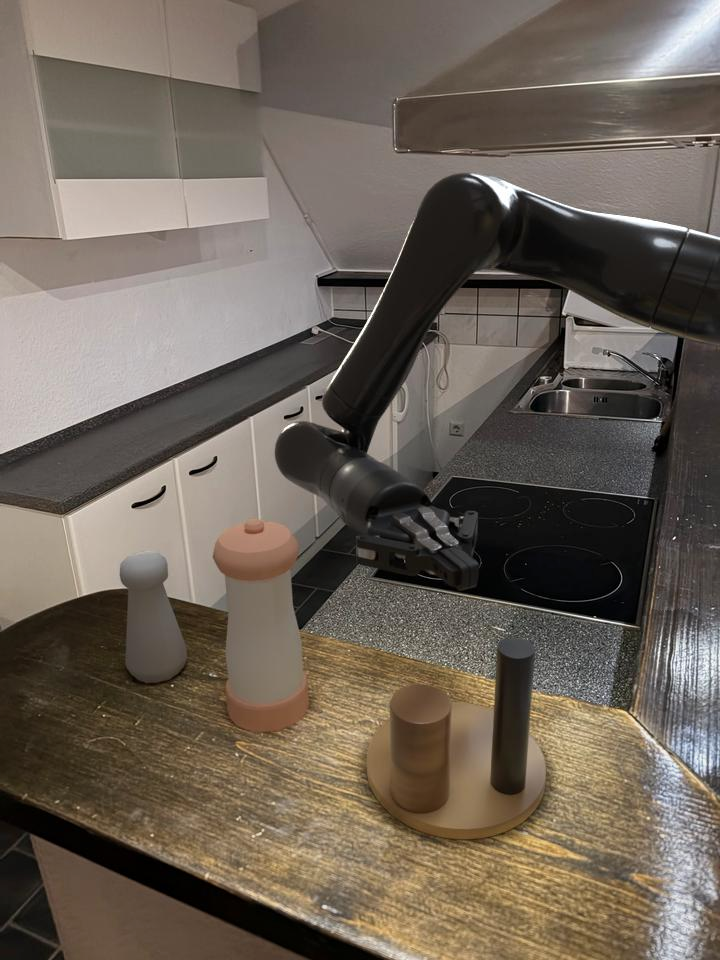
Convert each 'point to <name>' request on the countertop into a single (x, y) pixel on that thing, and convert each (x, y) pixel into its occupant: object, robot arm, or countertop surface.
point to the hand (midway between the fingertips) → (469, 578)
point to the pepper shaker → (261, 626)
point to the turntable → (461, 755)
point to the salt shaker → (150, 620)
